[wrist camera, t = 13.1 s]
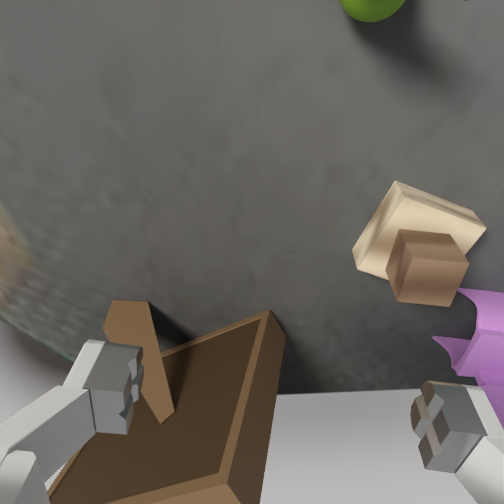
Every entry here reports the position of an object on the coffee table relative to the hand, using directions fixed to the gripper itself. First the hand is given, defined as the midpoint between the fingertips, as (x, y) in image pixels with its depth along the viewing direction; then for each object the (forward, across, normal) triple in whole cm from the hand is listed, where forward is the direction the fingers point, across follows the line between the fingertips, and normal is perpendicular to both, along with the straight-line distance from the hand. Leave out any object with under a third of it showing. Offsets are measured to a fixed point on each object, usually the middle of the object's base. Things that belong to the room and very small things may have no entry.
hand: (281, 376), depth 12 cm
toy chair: (+31, -27, +22) cm, 47 cm away
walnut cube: (+28, -16, +12) cm, 34 cm away
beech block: (+32, -16, +11) cm, 37 cm away
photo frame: (+31, +8, +29) cm, 43 cm away
